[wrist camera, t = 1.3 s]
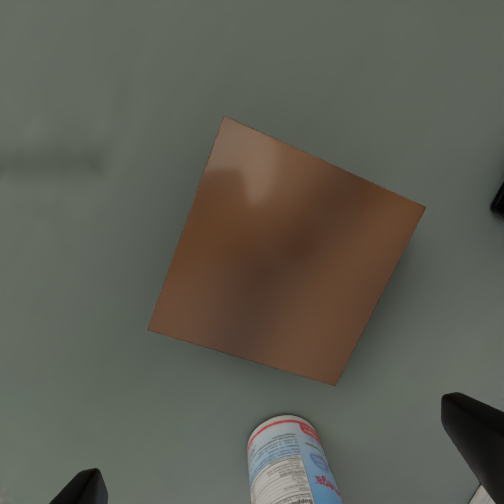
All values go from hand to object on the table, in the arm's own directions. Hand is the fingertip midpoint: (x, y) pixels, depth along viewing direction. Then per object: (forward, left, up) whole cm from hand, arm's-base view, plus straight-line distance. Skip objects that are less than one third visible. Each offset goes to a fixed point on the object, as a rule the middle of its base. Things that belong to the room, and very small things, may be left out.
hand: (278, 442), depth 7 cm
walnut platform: (-1, -2, -14) cm, 14 cm away
